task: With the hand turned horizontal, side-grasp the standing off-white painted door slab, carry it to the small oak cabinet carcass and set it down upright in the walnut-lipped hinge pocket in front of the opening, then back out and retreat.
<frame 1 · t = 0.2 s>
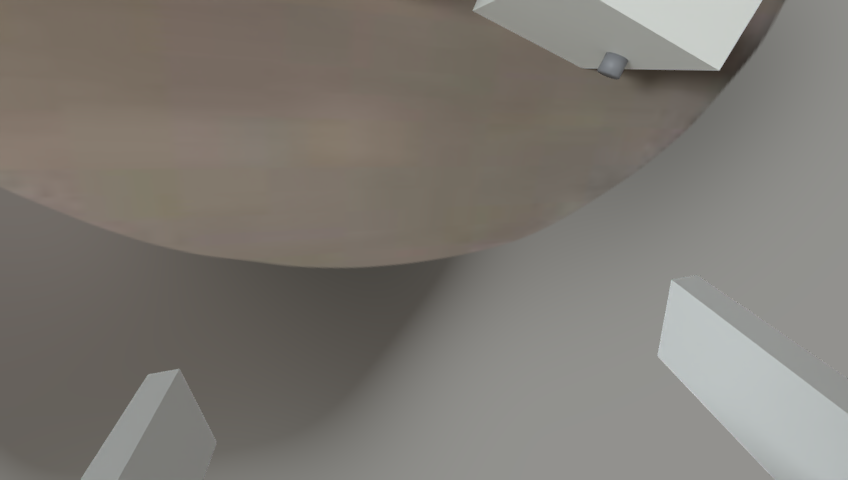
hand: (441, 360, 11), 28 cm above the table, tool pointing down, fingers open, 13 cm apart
door: (541, 16, 34), on the table
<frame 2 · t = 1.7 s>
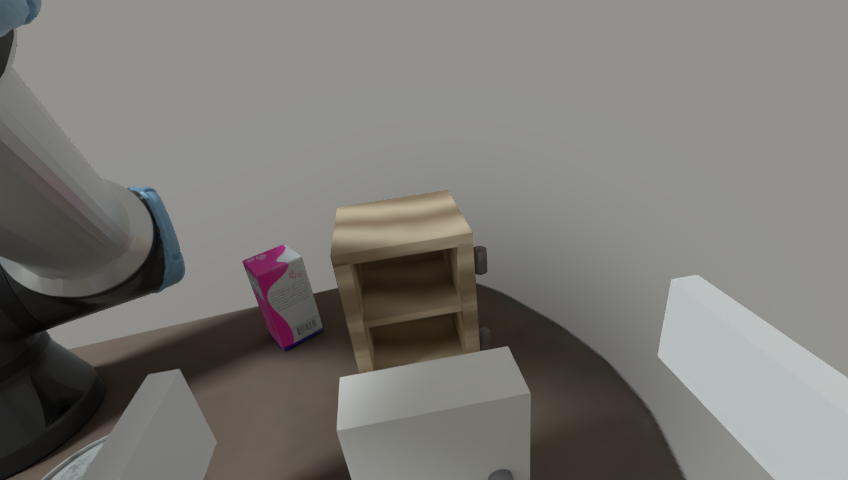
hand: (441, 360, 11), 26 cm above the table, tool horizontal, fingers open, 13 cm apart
supplement box: (296, 332, 55), on the table
cabinet: (416, 345, 50), on the table
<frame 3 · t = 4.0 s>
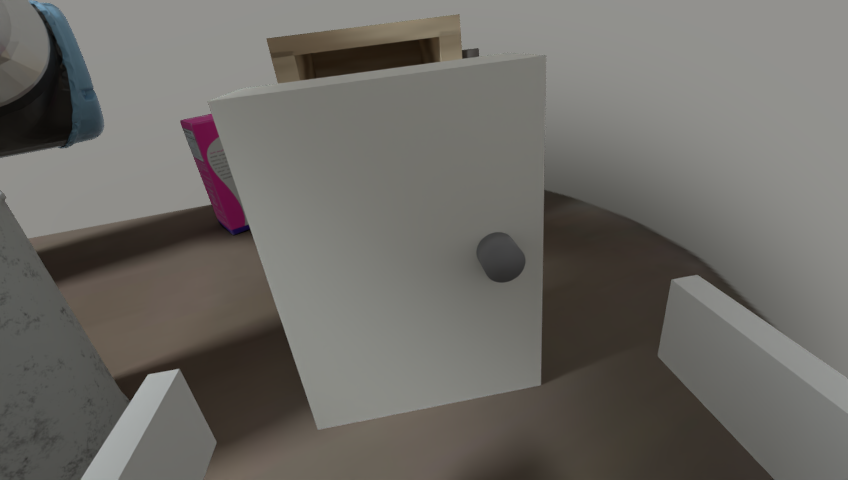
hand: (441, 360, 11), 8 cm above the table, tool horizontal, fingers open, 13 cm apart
door: (425, 377, 22), on the table
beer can: (21, 470, 20), on the table
supplement box: (251, 221, 46), on the table
cabinet: (394, 221, 40), on the table
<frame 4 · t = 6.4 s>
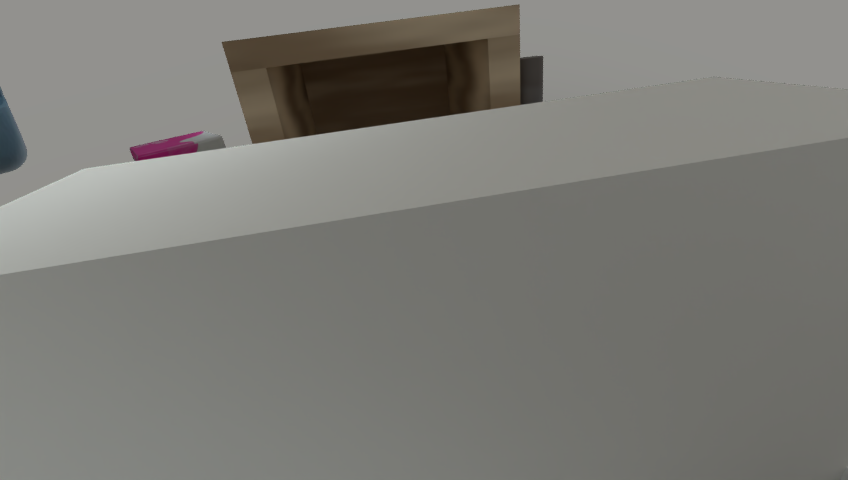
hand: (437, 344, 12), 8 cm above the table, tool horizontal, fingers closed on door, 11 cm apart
supplement box: (226, 272, 36), on the table
cabinet: (410, 281, 31), on the table
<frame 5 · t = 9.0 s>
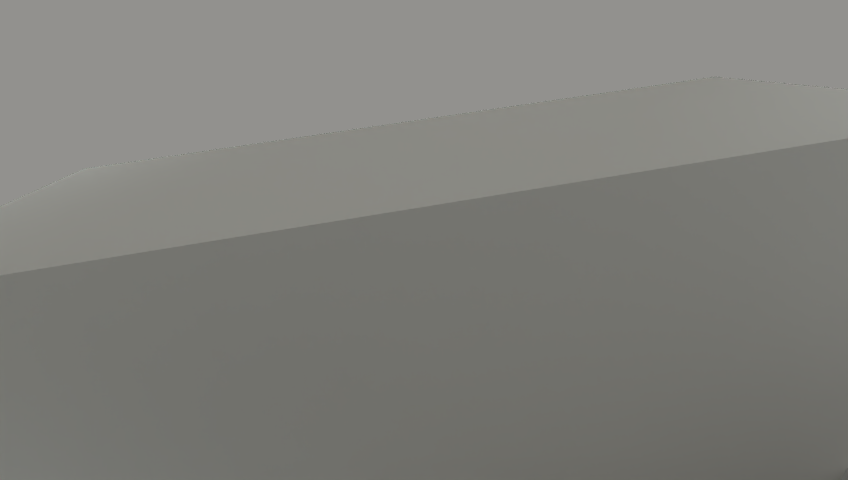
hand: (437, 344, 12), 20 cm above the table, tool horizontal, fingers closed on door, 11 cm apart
when the fingers open (10 cm above the table, at t = 11.9 s): door stays where it is, resting on cabinet.
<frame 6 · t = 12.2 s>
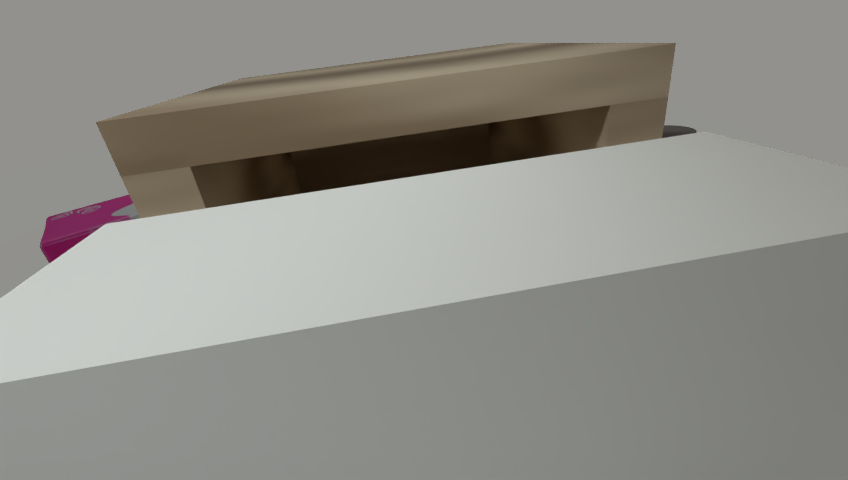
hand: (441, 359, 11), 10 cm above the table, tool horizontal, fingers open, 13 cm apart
supplement box: (187, 370, 27), on the table
cabinet: (435, 407, 22), on the table
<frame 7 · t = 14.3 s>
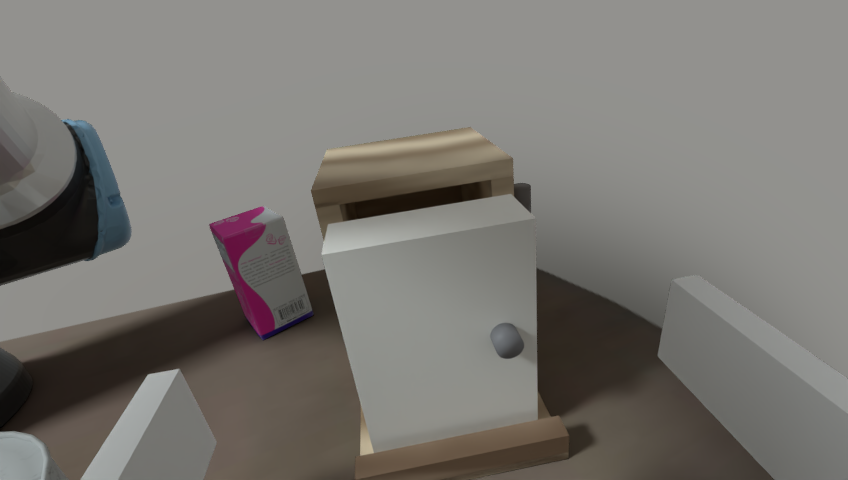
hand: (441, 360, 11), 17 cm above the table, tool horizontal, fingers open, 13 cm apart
door: (451, 415, 29), point 1 cm above the table, touching cabinet
supplement box: (279, 318, 44), on the table
cabinet: (431, 330, 39), on the table
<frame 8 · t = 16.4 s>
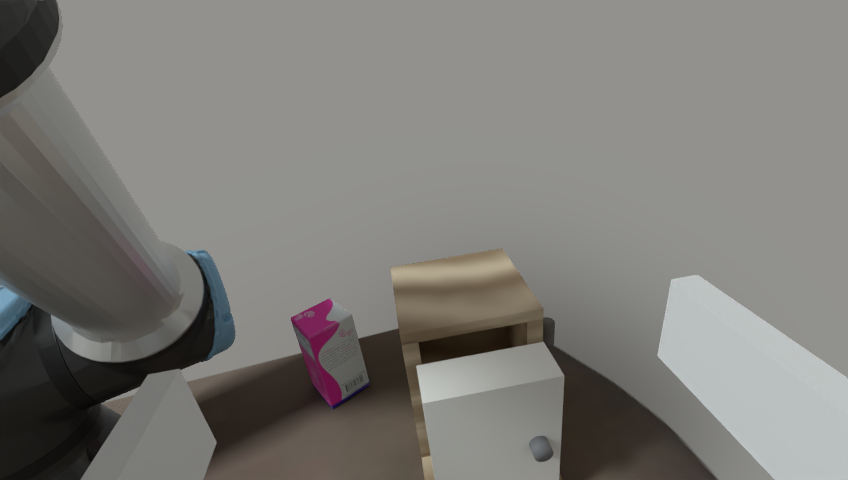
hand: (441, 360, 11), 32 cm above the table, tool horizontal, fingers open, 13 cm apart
supplement box: (341, 386, 54), on the table
cabinet: (469, 404, 49), on the table
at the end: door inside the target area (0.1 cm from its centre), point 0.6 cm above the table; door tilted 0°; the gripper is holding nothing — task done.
